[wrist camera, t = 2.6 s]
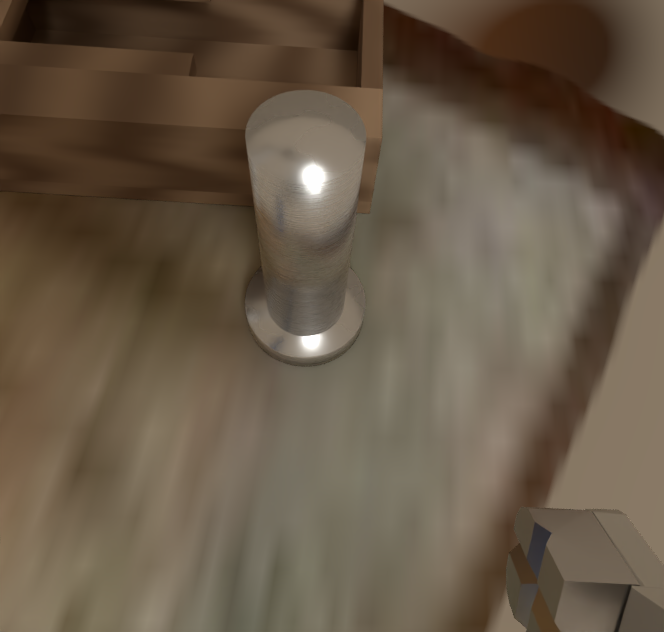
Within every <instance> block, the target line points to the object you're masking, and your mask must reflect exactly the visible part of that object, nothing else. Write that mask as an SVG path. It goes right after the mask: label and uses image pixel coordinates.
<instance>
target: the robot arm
mask: <svg viewBox="0 0 664 632" xmlns="http://www.w3.org/2000/svg"><path fill="white" fill-rule="evenodd" d="M514 530H515V533H516V535H517V538H518V540H519V542H520V543H519V544H518V545H517V546H516V547H514V548H513V549H512V550H511V551H510V552H509V556H508V562H507V568H506V584H507V594H508V599H509V603H510V606H511V609H512V612H513V615H514V618H515V619H516V620H517V621H519V622H520V623H521V624H522V625H523V626H524V627H525V628H526V629H527V631H526V632H664V565H663V564H662V563H661V561H660V560H659V559H658V557H657V556H656V555H655V553H654V552H653V551H652V549H651V548H650V546H649V545H648V544H647V542H646V541H645V540H644V538H643V537H642V536H641V534H640V533H639V532H638V530H637V529H636V528H635V526H634V525H633V523H632V522H631V521H630V519H629V518H628V517H627V515H626V514H624V513H623V512H621V511H619V510H607V509H585V510H573V509H572V510H571V509H551V508H531V507H521V508H520V510H519V512H518V514H517V516H516V521H515V526H514Z"/></svg>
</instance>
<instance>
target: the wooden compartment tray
mask: <svg viewBox="0 0 664 632" xmlns="http://www.w3.org/2000/svg"><path fill="white" fill-rule="evenodd" d="M295 90H314V91H320V92H325V93H328V94H331V95H333V96H336V97H338V98H340V99H342V100H343V101H345V102H346V103H348V104H349V105H350V106H351V107H352V108H353V109H355V111H356V112H357V113H358V114H359V116H360V117H361V119H362V121H363V123H364V126H365V130H366V146H365V153H364V161H363V168H362V175H361V183H360V190H359V198H358V205H357V213H368V214H370V208H371V202H372V196H373V190H374V184H375V178H376V172H377V166H378V160H379V154H380V148H381V143H382V103H383V0H0V191H12V192H28V193H44V194H60V195H76V196H93V197H109V198H125V199H141V200H157V201H174V202H190V203H206V204H222V205H238V206H254V201H253V194H252V186H251V178H250V170H249V163H248V155H247V147H246V139H245V131H246V126H247V123H248V120H249V118H250V117H251V115H252V113H253V112H254V111H255V110H256V109H257V108H258V107H259V106H260V105H261V104H262V103H264V102H265V101H266V100H268V99H270V98H272V97H274V96H276V95H279V94H281V93H285V92H289V91H295Z"/></svg>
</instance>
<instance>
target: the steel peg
mask: <svg viewBox="0 0 664 632" xmlns="http://www.w3.org/2000/svg"><path fill="white" fill-rule="evenodd" d="M245 139H246V147H247V155H248V163H249V170H250V178H251V186H252V194H253V201H254V209H255V217H256V225H257V232H258V240H259V248H260V256H261V263H262V266H261V267H260V268H259V269H258V270H257V271H256V273H255V274H254V276H253V277H252V279H251V281H250V283H249V285H248V288H247V291H246V296H245V310H246V316H247V320H248V325H249V329H250V331H251V334H252V336H253V338H254V339H255V341H256V343H257V344H258V345H259V346H260V348H261V349H263V350H264V351H265V352H266V353H267V354H268V355H270V356H271V357H273V358H275V359H276V360H278V361H281V362H283V363H286V364H290V365H294V366H316V365H321V364H325V363H327V362H330V361H332V360H334V359H336V358H338V357H339V356H341V355H342V354H344V353H345V352H346V351H347V350H348V349H349V348H350V347H351V346H352V345H353V343H354V342H355V340H356V339H357V337H358V335H359V333H360V330H361V327H362V323H363V318H364V314H365V306H366V301H365V293H364V289H363V286H362V284H361V282H360V280H359V278H358V276H357V275H356V274H355V272H354V271H353V270H352V269H351V268H350V267H349V265H350V257H351V250H352V242H353V235H354V227H355V220H356V213H357V205H358V198H359V190H360V183H361V175H362V168H363V161H364V153H365V146H366V130H365V126H364V123H363V121H362V119H361V117H360V116H359V114H358V113H357V112H356V111H355V109H353V108H352V107H351V106H350V105H349V104H348V103H346V102H345V101H343V100H342V99H340V98H338V97H336V96H333V95H331V94H328V93H325V92H320V91H314V90H295V91H289V92H285V93H281V94H279V95H276V96H274V97H272V98H270V99H268V100H266V101H265V102H264V103H262V104H261V105H260V106H259V107H258V108H257V109H256V110H255V111H254V112H253V113H252V115H251V117H250V118H249V120H248V123H247V126H246V131H245Z"/></svg>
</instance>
